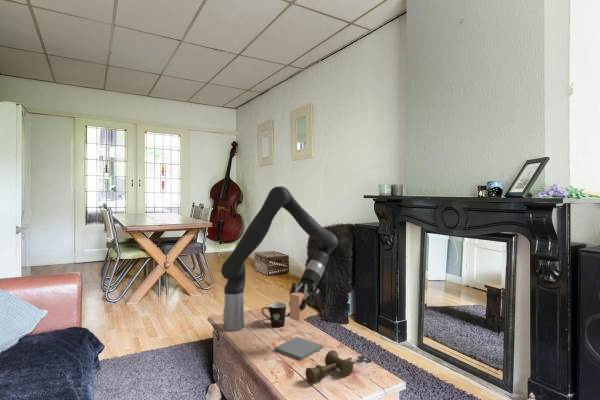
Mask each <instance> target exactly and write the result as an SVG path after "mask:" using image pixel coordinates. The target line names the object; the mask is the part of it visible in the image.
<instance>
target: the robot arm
mask: <svg viewBox="0 0 600 400" xmlns="http://www.w3.org/2000/svg"><path fill="white" fill-rule="evenodd" d="M282 208H283V209H284V210H285V211H287V212H288V213H289V215H290V216H292V218H293V219H294V220H295V221H296V223H297V224H298V226H300V228H301V229H302V230H303V231H304V232H305V233H306V234H307V235H308V236H309V237H310V238H311V239H317V240H319V242H318V244H317V246H316V248H315V252H314V254H313V256H312V257H311V259H310V261H309V263H308V264H307V265H306V268H305V269H304V271H303V273H302V275H301V278H300V281H299V282H298V283H295V282H292V284H291V287H290V290H289V296H290V294H291V293H295V292H303V293H304V294H305V296H304V300H303V301H302V303H301V305H300V307H299V308H300V310H303V309H305V307H306V305H307V306H308V303H313V302H314V301H315V300H316V298H317V296H318V295H319V293H320V292H321V291H320V289H319V287H318V284H319V282H320V280H321V278H322V276H323V274H324V271H325V268H326V267H327V264H328V262H329V256H330V253H331V252H332V251H333V250H335V249H336V248H337V247H338V245H339V240H338V238H337V236H336V235H335V234H334V233H333V232H331V231H330V230H328V229H327V228H325V227H323V226H322V225H321V224H319V223H318V222H317V221H316V219H314V218H313V217H312V216H311V215H310V214H309V212H307V211H306V210H305V209H304V208H303V206H301V205H300V204H299V203H298V201H297V200H296V199H295V197H294V196H293V195H292V193H291V192H290V190H289V189H288V188H287V187H286V186H280V185H279V186H274V187H273V188H271V189H270V191H269V192H268V194H267V196H266V198H265V200H264V202H263V204H262V206H261V208H260V209H259V211H258V212H257V213H256V215H255V216H254V218H253V219H252V220H251V222H250V224H249V225H248V226H247V227H246V229H245V231H244V233H243V234H242V236H241V238H240V240H239V241H238V243H237V244H236V246H235V248H234V249H233V251H232V253H231V254H230V255H229V256H228V257H227V258H226V260H225V261H224V262H223V264H222V266H221V269H220V270H221V271H220V272H221V275H222V277H223V278H224V279H225V280H227V281H226V284H225V285H224V290H223V291H224V295H223V296H224V297H223V300H224V307H223V309H222V311H223V312H222V313H223V328H224V330H226V331H228V332H229V331H230V332H232V331H233V332H235V331H241V330H243V329H245V298H244V297H245V295H244V293H245V285H246V265H245V262H246V260H247V259H248V258H249V256H250V255H251V254H253V252H255V250H256V249H257V248H258V247H259V246H260V245H261V244H262V243H263V242H262V241H263V240H264V239H265V237H266V236H267V234H268V233H269V230H270V227H271V226H272V223H273V220H274V218H275V217H276V215H277V214H278V212H279V211H280V210H281V209H282ZM288 306H289V307H290V301H289V302H288Z"/></svg>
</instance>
